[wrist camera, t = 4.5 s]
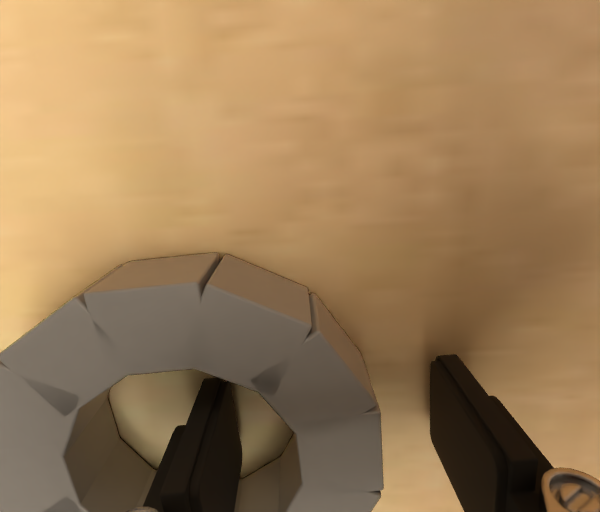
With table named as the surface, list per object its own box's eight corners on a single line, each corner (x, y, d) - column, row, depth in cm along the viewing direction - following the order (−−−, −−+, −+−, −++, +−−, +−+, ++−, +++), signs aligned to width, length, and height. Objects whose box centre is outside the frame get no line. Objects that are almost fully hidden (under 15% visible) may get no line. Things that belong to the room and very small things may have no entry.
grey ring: (89, 196, 10) (27, 211, 8) (424, 335, 11) (457, 383, 9) (9, 474, 13) (-55, 548, 10) (287, 558, 14) (286, 640, 12)
